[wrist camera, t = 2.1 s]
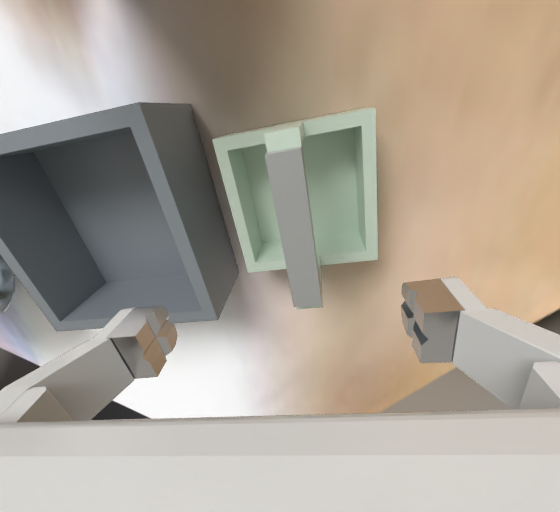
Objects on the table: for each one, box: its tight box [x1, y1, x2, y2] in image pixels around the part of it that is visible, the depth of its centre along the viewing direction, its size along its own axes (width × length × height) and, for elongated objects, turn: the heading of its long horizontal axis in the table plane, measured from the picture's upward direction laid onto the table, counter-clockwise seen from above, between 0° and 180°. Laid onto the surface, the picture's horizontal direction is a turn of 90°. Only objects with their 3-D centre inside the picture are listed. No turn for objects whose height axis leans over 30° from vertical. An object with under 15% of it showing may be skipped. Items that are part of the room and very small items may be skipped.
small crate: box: [212, 108, 378, 309], centre depth 18 cm, size 10×10×10 cm
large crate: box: [0, 102, 239, 331], centre depth 22 cm, size 15×15×7 cm
